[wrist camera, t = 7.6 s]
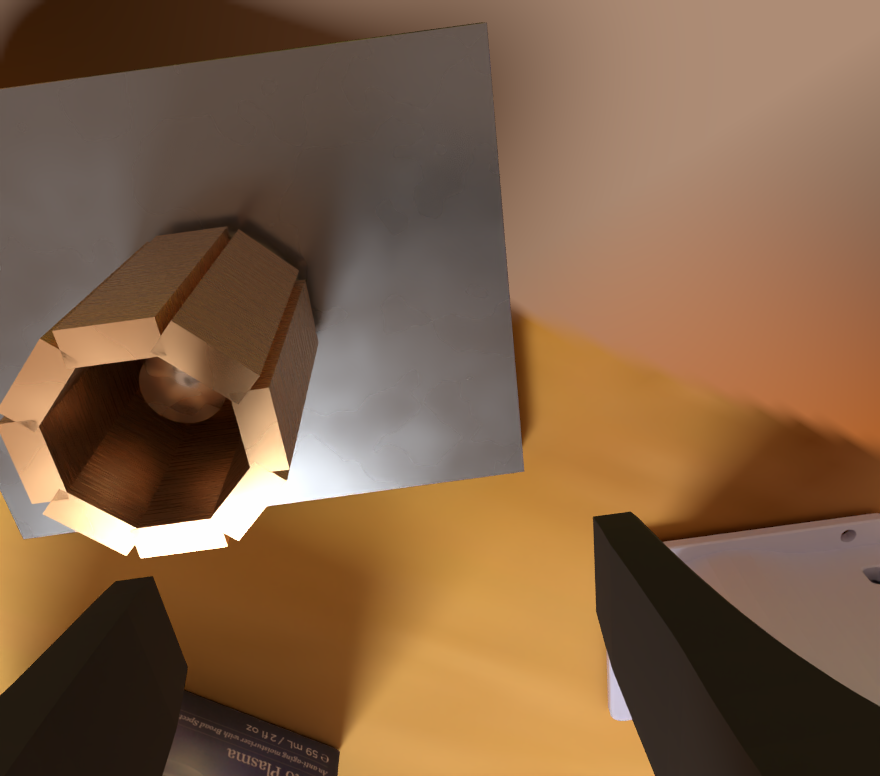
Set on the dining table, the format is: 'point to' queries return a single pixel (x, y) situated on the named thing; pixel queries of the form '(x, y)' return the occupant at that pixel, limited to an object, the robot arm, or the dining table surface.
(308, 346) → the brown hollow prism
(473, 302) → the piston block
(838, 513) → the dining table surface
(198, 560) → the dining table surface
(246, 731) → the small box
